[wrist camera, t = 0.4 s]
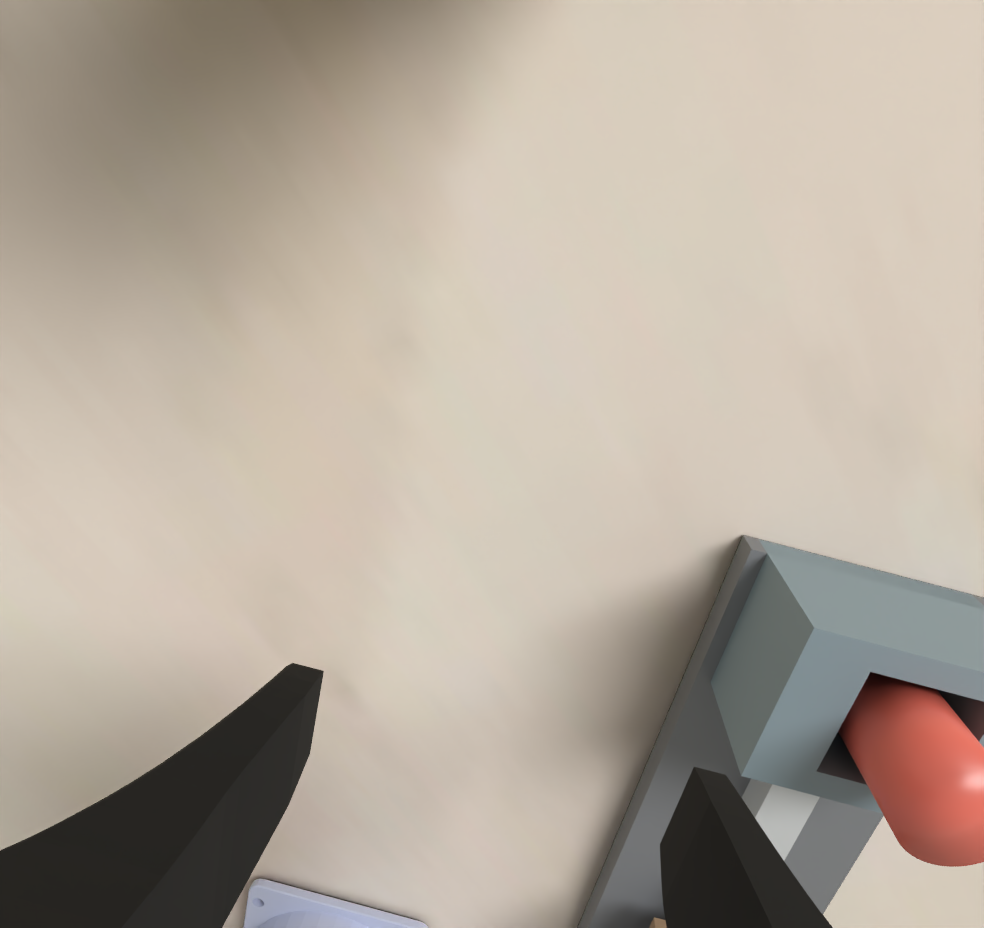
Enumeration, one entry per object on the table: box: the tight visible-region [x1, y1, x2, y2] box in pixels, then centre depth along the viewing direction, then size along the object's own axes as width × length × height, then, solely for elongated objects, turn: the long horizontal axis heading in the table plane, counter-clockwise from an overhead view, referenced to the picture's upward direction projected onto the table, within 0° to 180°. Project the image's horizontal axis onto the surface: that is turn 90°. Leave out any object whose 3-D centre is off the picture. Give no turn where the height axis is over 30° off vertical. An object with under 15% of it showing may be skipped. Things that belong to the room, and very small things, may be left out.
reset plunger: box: [838, 672, 984, 866], centre depth 17 cm, size 3×3×4 cm
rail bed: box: [578, 535, 984, 928], centre depth 23 cm, size 24×8×5 cm, turn 166°
